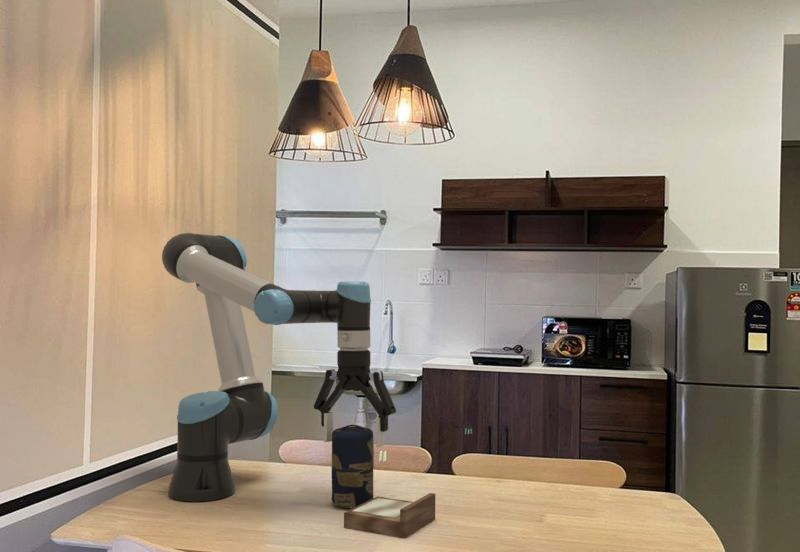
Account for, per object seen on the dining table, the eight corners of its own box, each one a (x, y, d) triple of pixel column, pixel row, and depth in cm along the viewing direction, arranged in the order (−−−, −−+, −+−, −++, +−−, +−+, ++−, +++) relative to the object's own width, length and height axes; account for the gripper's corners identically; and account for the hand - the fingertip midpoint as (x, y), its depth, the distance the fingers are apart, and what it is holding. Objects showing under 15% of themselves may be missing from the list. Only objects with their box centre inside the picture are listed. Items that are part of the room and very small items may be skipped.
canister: (367, 512, 161) (368, 429, 162) (325, 509, 163) (326, 427, 164) (377, 500, 171) (378, 422, 171) (337, 498, 172) (338, 420, 173)
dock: (343, 527, 150) (344, 500, 150) (377, 510, 163) (377, 485, 163) (405, 538, 144) (405, 510, 144) (435, 519, 156) (435, 493, 156)
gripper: (298, 348, 170) (298, 441, 169) (394, 351, 159) (395, 451, 158) (317, 347, 177) (317, 436, 176) (410, 349, 165) (410, 445, 165)
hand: (354, 443), depth 167 cm, fingers open, 13 cm apart
